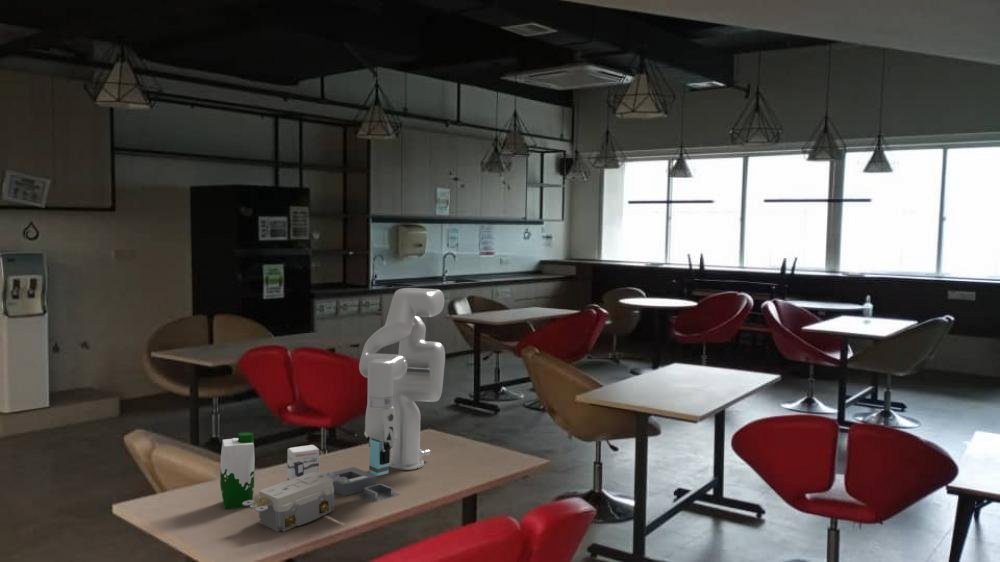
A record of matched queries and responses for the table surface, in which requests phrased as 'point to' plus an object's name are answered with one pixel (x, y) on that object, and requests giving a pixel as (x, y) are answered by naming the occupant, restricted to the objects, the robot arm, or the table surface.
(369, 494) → the holster
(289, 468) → the ink box
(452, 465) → the table surface
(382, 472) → the plug
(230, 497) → the milk carton
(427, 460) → the table surface
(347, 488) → the port
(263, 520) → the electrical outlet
